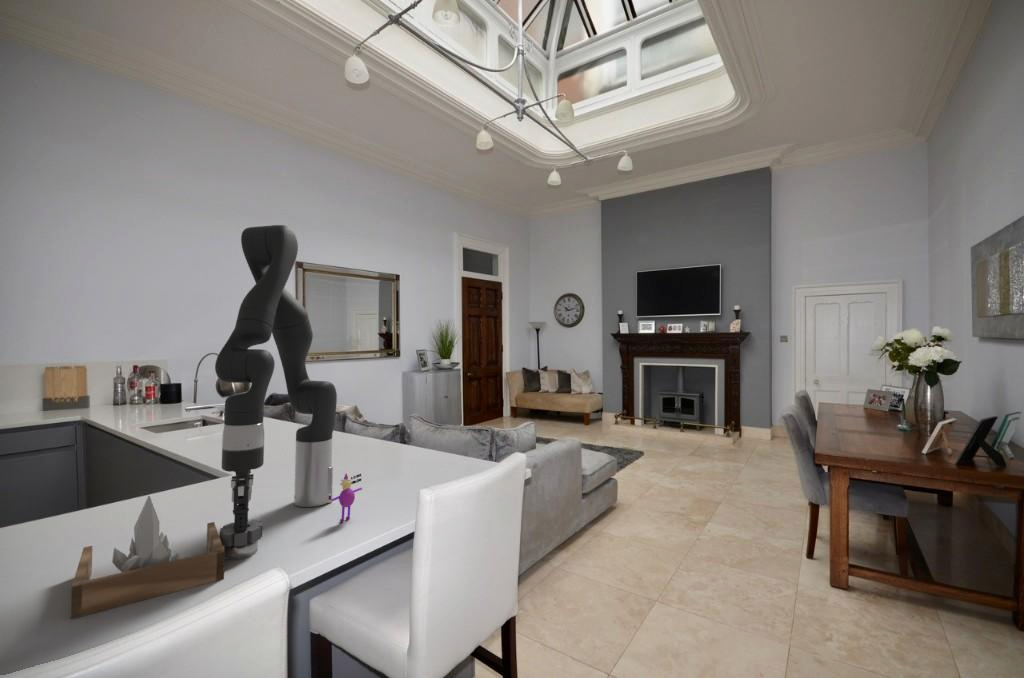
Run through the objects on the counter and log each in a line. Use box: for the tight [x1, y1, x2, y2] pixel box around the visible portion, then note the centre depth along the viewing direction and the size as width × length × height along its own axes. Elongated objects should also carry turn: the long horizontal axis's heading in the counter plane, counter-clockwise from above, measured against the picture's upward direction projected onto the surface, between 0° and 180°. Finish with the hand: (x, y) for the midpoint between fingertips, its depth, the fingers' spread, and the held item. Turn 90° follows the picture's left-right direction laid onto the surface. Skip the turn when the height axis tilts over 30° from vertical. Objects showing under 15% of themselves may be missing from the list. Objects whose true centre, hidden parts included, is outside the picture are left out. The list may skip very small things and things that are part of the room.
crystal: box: [112, 495, 180, 573], centre depth 83 cm, size 10×13×15 cm
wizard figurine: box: [327, 472, 364, 523], centre depth 111 cm, size 11×3×12 cm, turn 155°
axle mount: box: [223, 540, 259, 561], centre depth 94 cm, size 6×6×8 cm
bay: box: [70, 521, 225, 620], centre depth 84 cm, size 17×20×5 cm
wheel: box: [219, 519, 264, 547], centre depth 94 cm, size 8×8×2 cm
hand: (241, 526), depth 94 cm, fingers open, 5 cm apart
